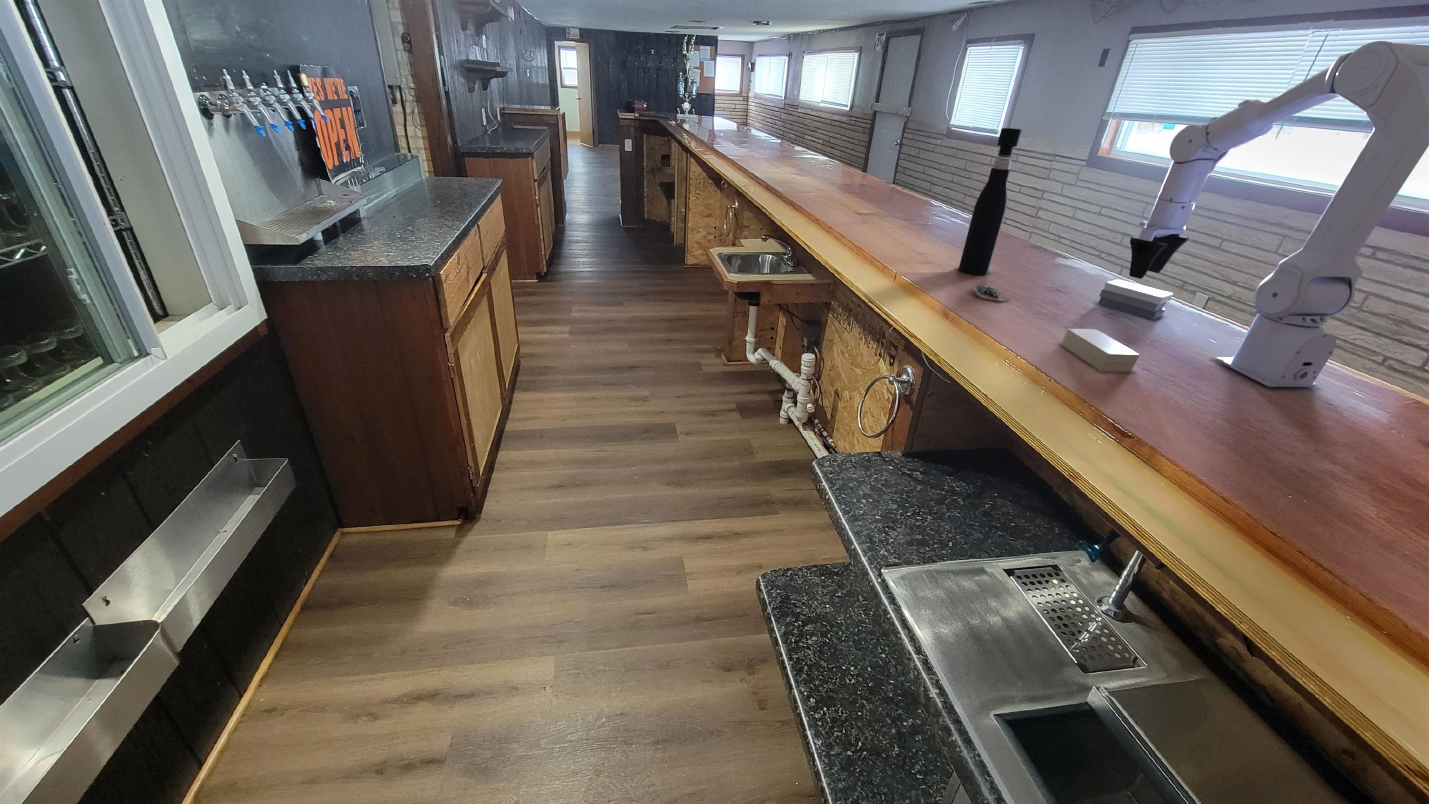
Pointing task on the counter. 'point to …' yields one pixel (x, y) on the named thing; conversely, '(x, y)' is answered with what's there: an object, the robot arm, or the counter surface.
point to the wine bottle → (989, 210)
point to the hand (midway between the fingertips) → (1144, 274)
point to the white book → (1138, 291)
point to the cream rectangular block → (1099, 350)
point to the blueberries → (988, 293)
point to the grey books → (1131, 305)
